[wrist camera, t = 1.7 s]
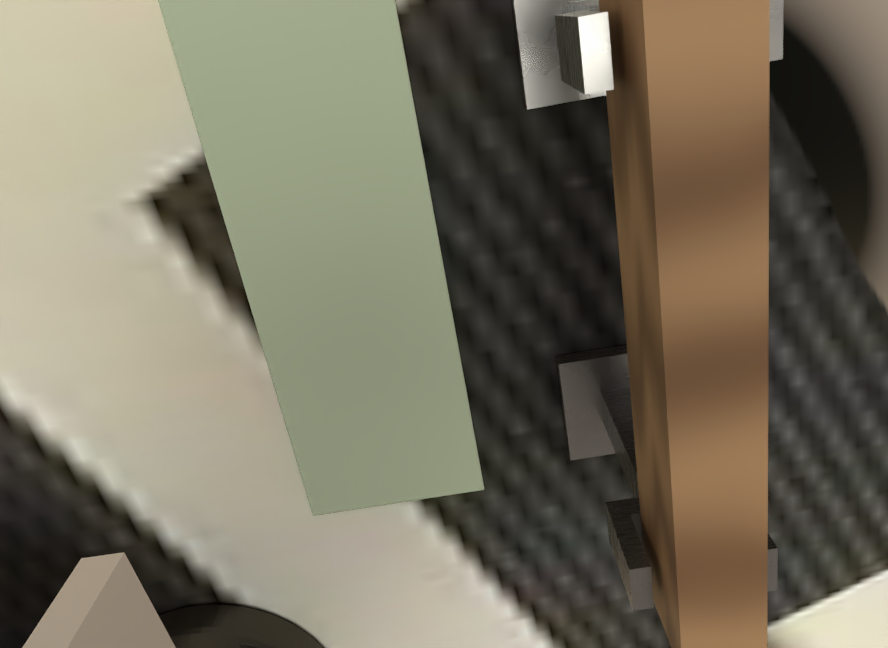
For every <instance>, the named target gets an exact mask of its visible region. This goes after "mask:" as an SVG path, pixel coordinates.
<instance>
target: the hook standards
mask: <svg viewBox="0 0 888 648" xmlns="http://www.w3.org/2000/svg"><path fill="white" fill-rule="evenodd" d="M511 3H512V11H513V19H514V27H515V35H516V43H517V51H518V59H519V67H520V75H521V83H522V91H523V99H524V107H525V108H526V109H533V108H538V107H544V106H549V105H555V104H560V103H566V102H572V101H577V100H583V99H588V98H594V97H599V96H605V95H606V91H608V90H613V89H614V83H613V70H612V57H611V44H610V31H609V18H608V12H606V11H599V0H511ZM779 59H783V0H770V24H769V61H773V60H779ZM556 362H557V370H558V378H559V386H560V394H561V402H562V410H563V418H564V426H565V434H566V442H567V450H568V454H569V457H570V460H577V459H583V458H590V457H596V456H603V455H609V454H616V455H617V458H618V460H619V462H620V465H621V467H622V470H623V472H624V475H625V477H626V479H627V482H628V484H629V487H630V489H631V492H632V494H633V496H634V498H631V499H624V500H617V501H611V502H605V503H606V513H607V523H608V532H609V541H610V544H611V547H612V550H613V553H614V556H615V559H616V562H617V565H618V568H619V571H620V574H621V577H622V580H623V583H624V586H625V589H626V592H627V595H628V598H629V601H630V604H631V607H632V610H633V611H634V610H641V609H648V608H654V601H653V588H652V575H651V566H650V563H649V561H648V558H647V556H646V553H645V550H644V548H643V539H642V527H641V514H640V502H639V490H638V478H637V465H636V453H635V441H634V428H633V416H632V404H631V392H630V379H629V367H628V355H627V345H621V346H615V347H609V348H603V349H597V350H590V351H584V352H578V353H572V354H566V355H559V356H556ZM777 558H778V548H777V547H776V545H775V543H774V542H773V540H772V539H771V537H770V536H769V534H768V561H767V592H768V591H775V590H777Z"/></svg>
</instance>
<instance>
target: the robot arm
mask: <svg viewBox="0 0 888 648" xmlns="http://www.w3.org/2000/svg"><path fill="white" fill-rule="evenodd" d="M22 648H323V647H322V646H321V645H320V644H319V643H318V642H317V641H316V640H314V639H313V638H312V637H311V636H310V635H308V634H307V633H306V632H304V631H303V630H301V629H300V628H298V627H297V626H295V625H293V624H291V623H290V622H288V621H286V620H284V619H281V618H279V617H277V616H274V615H271V614H269V613H266V612H262V611H259V610H255V609H251V608H246V607H240V606H232V605H199V606H191V607H185V608H181V609H177V610H173V611H170V612H167V613H164V614H162V615H159V616H158V614H157V612H156V610H155V608H154V607H153V605H152V603H151V601H150V599H149V597H148V596H147V594H146V592H145V590H144V588H143V586H142V584H141V583H140V581H139V579H138V577H137V575H136V573H135V572H134V570H133V568H132V566H131V564H130V562H129V560H128V559H127V557H126V555H125V553H124V552H123V553H116V554H109V555H102V556H94V557H87V558H81V560H80V561H79V563H78V564H77V566H76V567H75V569H74V570H73V572H72V573H71V575H70V576H69V578H68V579H67V581H66V582H65V584H64V585H63V587H62V588H61V590H60V591H59V593H58V594H57V596H56V597H55V599H54V600H53V602H52V603H51V605H50V606H49V608H48V609H47V611H46V612H45V614H44V616H43V617H42V619H41V620H40V622H39V623H38V625H37V626H36V628H35V629H34V631H33V632H32V634H31V635H30V637H29V638H28V640H27V641H26V643H25V644H24V646H23V647H22Z"/></svg>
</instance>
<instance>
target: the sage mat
mask: <svg viewBox="0 0 888 648" xmlns="http://www.w3.org/2000/svg"><path fill="white" fill-rule="evenodd" d="M158 2H159V5H160V8H161V12H162V15H163V18H164V22H165V25H166V28H167V32H168V35H169V38H170V41H171V45H172V48H173V51H174V55H175V58H176V61H177V65H178V68H179V71H180V75H181V78H182V81H183V85H184V88H185V91H186V95H187V98H188V101H189V105H190V108H191V111H192V115H193V118H194V121H195V125H196V128H197V131H198V134H199V138H200V141H201V144H202V148H203V151H204V154H205V158H206V161H207V164H208V168H209V171H210V174H211V178H212V181H213V184H214V188H215V191H216V194H217V198H218V201H219V204H220V208H221V211H222V214H223V218H224V221H225V224H226V228H227V231H228V234H229V237H230V241H231V244H232V247H233V251H234V254H235V257H236V261H237V264H238V267H239V271H240V274H241V277H242V281H243V284H244V287H245V291H246V294H247V297H248V301H249V304H250V307H251V311H252V314H253V317H254V321H255V324H256V327H257V330H258V334H259V337H260V340H261V344H262V347H263V350H264V354H265V357H266V360H267V364H268V367H269V370H270V374H271V377H272V380H273V384H274V387H275V390H276V394H277V397H278V400H279V404H280V407H281V410H282V414H283V417H284V420H285V423H286V427H287V430H288V433H289V437H290V440H291V443H292V447H293V450H294V453H295V457H296V460H297V463H298V467H299V470H300V473H301V477H302V480H303V483H304V487H305V490H306V493H307V497H308V500H309V503H310V507H311V510H312V513H313V516H315V515H322V514H328V513H335V512H341V511H348V510H354V509H361V508H368V507H374V506H381V505H387V504H394V503H400V502H407V501H413V500H420V499H427V498H433V497H440V496H446V495H453V494H459V493H466V492H472V491H479V490H484V484H483V478H482V473H481V467H480V462H479V456H478V451H477V445H476V440H475V434H474V429H473V424H472V418H471V413H470V407H469V402H468V396H467V391H466V385H465V380H464V374H463V369H462V363H461V358H460V352H459V347H458V342H457V336H456V331H455V325H454V320H453V314H452V309H451V303H450V298H449V292H448V287H447V281H446V276H445V270H444V265H443V260H442V254H441V249H440V243H439V238H438V232H437V227H436V221H435V216H434V210H433V205H432V199H431V194H430V188H429V183H428V178H427V172H426V167H425V161H424V156H423V150H422V145H421V139H420V134H419V128H418V123H417V117H416V112H415V106H414V101H413V96H412V90H411V85H410V79H409V74H408V68H407V63H406V57H405V52H404V46H403V41H402V35H401V30H400V24H399V19H398V14H397V8H396V3H395V0H158Z"/></svg>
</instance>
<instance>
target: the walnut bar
mask: <svg viewBox="0 0 888 648" xmlns="http://www.w3.org/2000/svg"><path fill="white" fill-rule="evenodd" d="M599 11H606V12H608V18H609V31H610V44H611V57H612V70H613V83H614V89H613V90H608V91H606V97H607V109H608V122H609V134H610V146H611V159H612V171H613V183H614V195H615V208H616V220H617V232H618V244H619V257H620V269H621V281H622V293H623V306H624V318H625V330H626V343H627V355H628V367H629V379H630V392H631V404H632V416H633V428H634V441H635V453H636V465H637V478H638V490H639V502H640V514H641V527H642V539H643V548H644V550H645V553H646V556H647V558H648V561H649V563H650V566H651V575H652V588H653V600H654V603H655V606H656V608H657V611H658V614H659V616H660V619H661V622H662V624H663V627H664V630H665V632H666V635H667V638H668V640H669V643H670V646H671V648H767V561H768V292H769V24H770V0H599Z"/></svg>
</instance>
